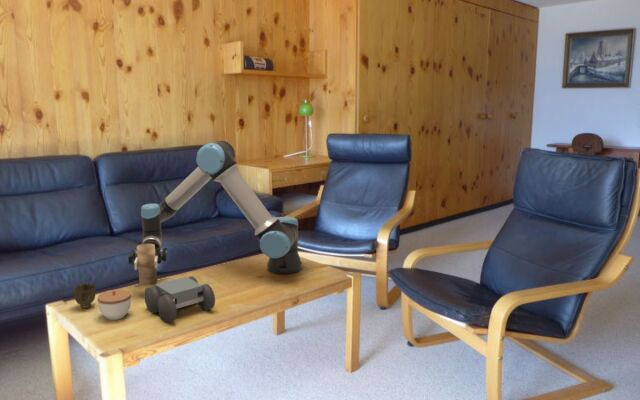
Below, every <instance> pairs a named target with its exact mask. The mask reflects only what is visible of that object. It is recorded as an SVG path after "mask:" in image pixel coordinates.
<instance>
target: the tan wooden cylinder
mask: <svg viewBox="0 0 640 400" xmlns="http://www.w3.org/2000/svg"><path fill="white" fill-rule="evenodd" d="M136 251H137V257H138V268H137V270H138V279H139V281H138V283H139V284H140V285H153V284H157V282H158V274H157V273H158V272H157V268H155V263H154V261H155V257H156V256H155V245H154V244H142V243H141V244H138V245H136Z"/></svg>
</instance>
